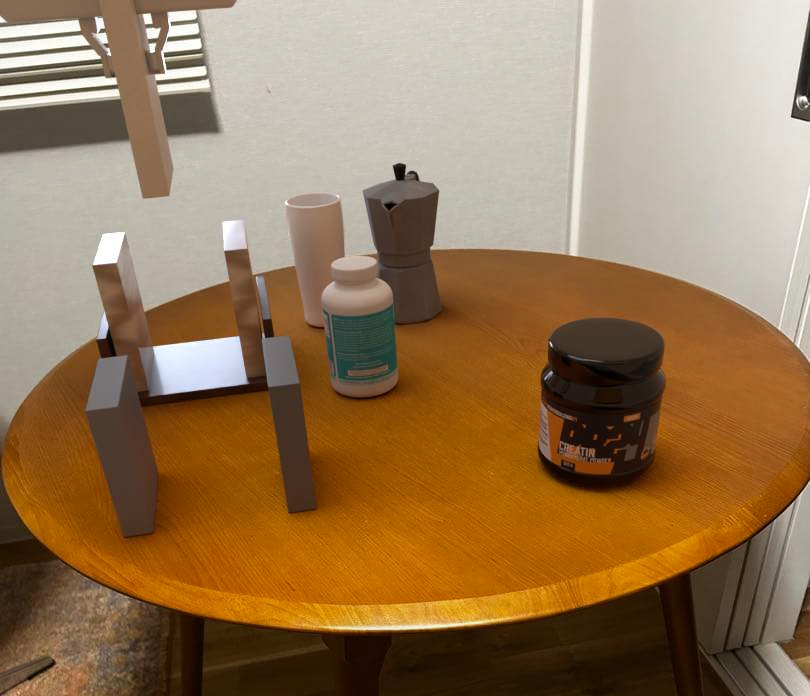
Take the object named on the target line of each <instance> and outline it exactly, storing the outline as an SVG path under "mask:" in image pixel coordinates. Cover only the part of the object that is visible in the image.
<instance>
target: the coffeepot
mask: <svg viewBox="0 0 810 696" xmlns="http://www.w3.org/2000/svg"><path fill="white" fill-rule="evenodd" d="M392 170H393V173H394V174H393V175H394V178H395V179H391V180H386V181H383V182H379V183H377V184H375V185H372V186H370V187H367V188H365V189H362V194H363V195H362V196H363V199H364V204H365V209H366V213H367V219H368V223H369V228H370V233H371V238H372V243H373V246H374V248H375V250H376V254H377V255H376V256H377V258H376V259H377V267H378V273H377V276H376V278H378V279H381V280H383V281H384V282H386V283H387V284H388V285H389V286H390V288H391V290H392V293H393V304H394V320H395V325H396V324H397V325H408V324H409V325H410V324H417V323H422V322H426V321H429V320H431V319H433V318H436V316H437V314H438V315H439V314H440V312H442V310H443V307H442V303H441V297H440V293H439V292H440V291H439V287H438V282H437V277H436V272H435V266H434V263H433V259H432V258H431V247H433V246H434V241H435V233H436V224H437V217H438V216H437V215H438V206H439V198H440V197H439V196H440V189H439V188H438V187H437V186H436V185H435V184H434V183H433V182H428V181H427V182H426V181H422V180H420V176H419V174H418V172H417V171H415V170H409V171H406V170H407V164H405V163H402V162H398V163H395V164H393V165H392ZM406 172H407V173H406Z"/></svg>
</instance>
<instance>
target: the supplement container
mask: <svg viewBox="0 0 810 696" xmlns="http://www.w3.org/2000/svg"><path fill="white" fill-rule="evenodd" d="M547 341H548V344H547V346H548V347H547V363H546V364H545V365H544V366H543V368H542V370H541V373H540V383H539V384H540V387H541V390H540V411H539V430H538V431H539V433H538V441H537V455H538V458H539V461H540V463H541V464H542V466H543V467H544V469H546V470H547V472H549V473H550V474H551V475H553V476H555V477H556V478H558V479H559V480H562V481H564V482H567V483H569V484H573V485H576V486H581V487H589V488H612V486H613V487H618V486H622V485H625V484H628V483H632V482H633V481H636V480H638V479H640V478H642V477H643V476H644V475H645V474H646V473H647V472H648V471H649V470H650V469H651V467H652V465H653V464H654V461H655V457H656V445H657V438H658V431H659V423H660V418H661V409H662V403H663V397H664V396H663V395H664V393H665V391H666V386H667V378H666V377H667V376H666V374H665V372H664V370H663V369H662V366H663V362H664V355H665V348H666V341H665V338H664V337H663V335H662V334H661V333H660V332H659V331H658V330H656V329H655V328H653V327H652V326H649V325H647V324H645V323H643V322H639V321H635V320H631V319H626V318H618V317H587V318H581V319H577V320H572V321H569V322H565V323H564V324H561V325H560V326H558V327H556V328H555V329H554V330H553V331H552V332H551V333H550V335H549V337H548V340H547Z"/></svg>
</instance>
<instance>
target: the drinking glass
mask: <svg viewBox="0 0 810 696" xmlns="http://www.w3.org/2000/svg"><path fill="white" fill-rule="evenodd" d="M284 205H285V216H286V218H285V219H286V227H287V233H288V239H289V245H290V250H291V255H292V259H293V264H294V266H295V273H296V277H297V282H298V286H299V291H300V296H301V302H302V306H303V307H302V308H303V315H304V320H305V322H306V323H307V324H308V325H309V326H312V327H315V328H325V327H324V318H323V310H322V301H321V297H322V293H323V291H324V289H325V288H326V287H327V286H328V285H329V284H331V283H332V282H334V281H335V280H334V279H333V277H332V271H331V264H332V262H334V261H335V260H337V259H340V258H344V257H346V244H345V243H346V238H345V222H344V221H345V220H344V212H343V205H342V198H341V196H340V195H339V194H336V193H333V192H327V191H326V192H323V191H321V192H320V191H317V192H316V191H315V192H304V193H300V194H296V195H294V196H290V197H288V198H287V199H286V200H285V202H284Z"/></svg>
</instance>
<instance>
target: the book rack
mask: <svg viewBox="0 0 810 696" xmlns="http://www.w3.org/2000/svg"><path fill="white" fill-rule="evenodd" d="M222 237H223V253H224V258H225V265H226V270H227V274H228V280H229V286H230V287H229V288H230V293H231V298H232V305H233V310H234V316H235V322H236V326H237V327H236V328H237V332H238V336H229V337H221V338H214V339H205V340H198V341H189V342H179V343H173V344H163V345H156V346H153V341H152V337H151V333H150V330H149V325H148V321H147V316H146V313H145V309H144V304H143V300H142V296H141V293H140V287H139V283H138V279H137V274H136V271H135V267H134V263H133V259H132V255H131V250H130V246H129V241H128V238H127V234H126V232H125V231H120V232H111V233H103V234H102V237H101V238H100V242H99V244H98V247H97V251H96V253H95V256H94V260H93V262H92V265H91V266H92V267H91V268H92V270H93V274H94V278H95V281H96V286H97V288H98V293H99V296H100V300H101V303H102V307H103V312H102V316H101V321H100V325H99V327H98V330H97V335H96V338H95V341H96V345H97V348H98V351H99V355H100V359H101V358H109V357H117V356H125V355H127V356H128V358H129V362H130V366H131V370H132V373H133V377H134V381H135V385H136V389H137V393H138V396H139V400H140V404H141V407H145V406H154V405H160V404H169V403H176V402H177V403H178V402H183V401H191V400H199V399H206V398H215V397H222V396H230V395H239V394H245V393H246V394H247V393H254V392H262V391H269V389H268V382H267V375H266V367H265V360H264V353H263V346H262V339H264V338H272V337H275V331H274V326H273V319H272V313H271V306H270V301H269V296H268V295H269V294H268V290H267V284H266V277H265V275H260V276H256V277H255V279H254V273H253V267H252V260H251V254H250V248H249V241H248V236H247V229H246V224H245V219H235V220H225V221H222ZM255 281H256V282H255ZM255 283H256V286H255ZM256 288H257V292H256ZM257 296H258V299H257ZM258 300H259V301H258ZM258 302H259V306H258ZM259 308H260V309H259ZM259 310H260V311H259ZM260 314H261V315H260ZM260 316H261V317H260ZM260 318H261V319H260ZM261 323H262V325H261Z"/></svg>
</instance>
